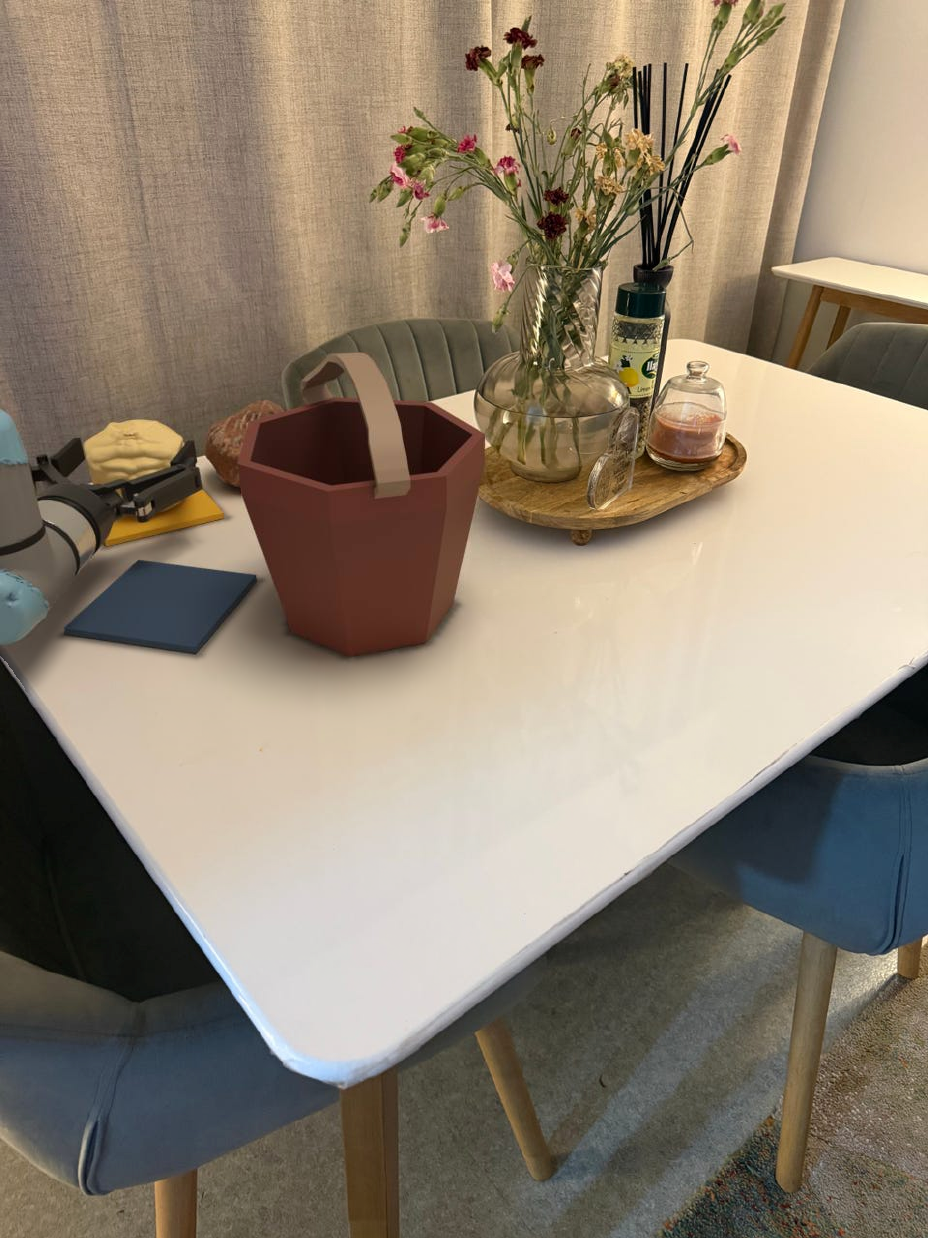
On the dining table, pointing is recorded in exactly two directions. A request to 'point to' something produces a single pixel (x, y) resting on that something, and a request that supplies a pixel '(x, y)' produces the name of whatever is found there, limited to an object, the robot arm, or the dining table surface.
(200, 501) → the yellow mat
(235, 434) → the decorative rock
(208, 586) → the blue mat
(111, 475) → the sculpture
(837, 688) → the dining table surface
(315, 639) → the bucket
